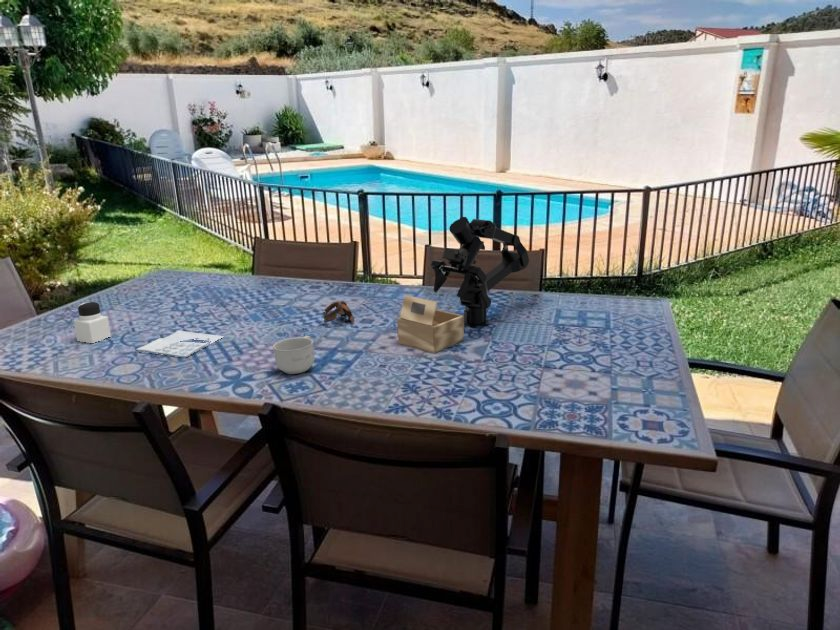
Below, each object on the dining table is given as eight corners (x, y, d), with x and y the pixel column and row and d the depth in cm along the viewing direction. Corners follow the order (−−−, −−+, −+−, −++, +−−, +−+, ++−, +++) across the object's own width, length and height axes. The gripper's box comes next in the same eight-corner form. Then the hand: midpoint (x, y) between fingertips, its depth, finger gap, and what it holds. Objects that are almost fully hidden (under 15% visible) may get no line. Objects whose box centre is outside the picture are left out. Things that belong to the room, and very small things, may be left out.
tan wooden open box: (428, 331, 203) (427, 307, 201) (465, 340, 194) (465, 315, 192) (397, 343, 193) (396, 318, 191) (434, 353, 184) (434, 327, 181)
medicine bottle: (111, 337, 204) (105, 301, 200) (92, 344, 197) (85, 307, 194) (96, 334, 206) (90, 299, 203) (76, 341, 200) (70, 305, 197)
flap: (405, 295, 190) (404, 294, 190) (437, 301, 182) (436, 301, 182) (400, 317, 190) (399, 317, 190) (432, 325, 182) (431, 325, 182)
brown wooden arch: (354, 328, 210) (341, 309, 206) (330, 338, 213) (317, 320, 209) (359, 309, 220) (346, 290, 216) (336, 319, 223) (323, 301, 219)
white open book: (134, 354, 190) (133, 347, 189) (180, 333, 208) (179, 327, 207) (186, 361, 184) (185, 354, 183) (229, 338, 202) (228, 332, 201)
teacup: (296, 380, 167) (294, 352, 164) (266, 372, 172) (264, 345, 170) (330, 363, 178) (328, 336, 176) (301, 356, 183) (299, 330, 181)
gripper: (433, 234, 200) (410, 275, 195) (481, 241, 188) (458, 284, 183) (449, 255, 207) (427, 294, 203) (496, 262, 196) (474, 304, 191)
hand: (446, 294), depth 195 cm, fingers open, 9 cm apart
